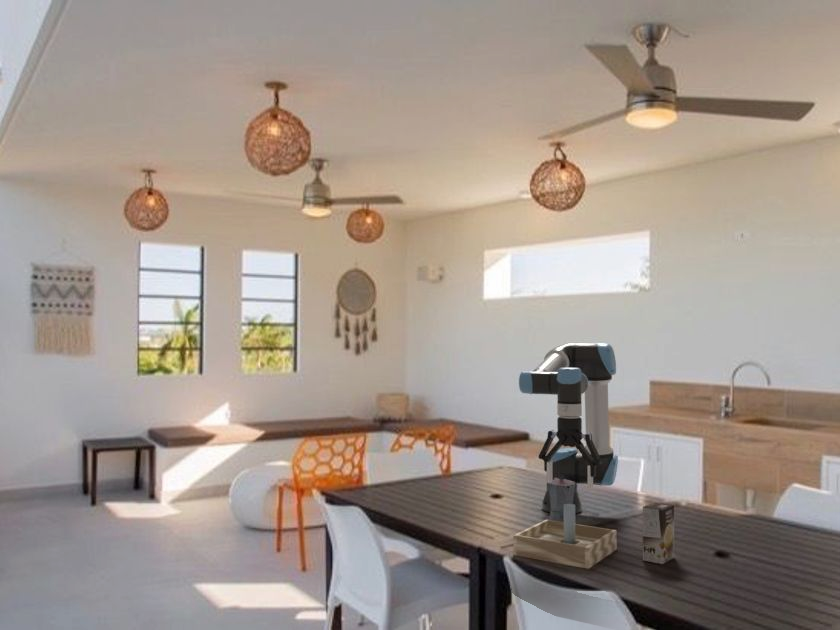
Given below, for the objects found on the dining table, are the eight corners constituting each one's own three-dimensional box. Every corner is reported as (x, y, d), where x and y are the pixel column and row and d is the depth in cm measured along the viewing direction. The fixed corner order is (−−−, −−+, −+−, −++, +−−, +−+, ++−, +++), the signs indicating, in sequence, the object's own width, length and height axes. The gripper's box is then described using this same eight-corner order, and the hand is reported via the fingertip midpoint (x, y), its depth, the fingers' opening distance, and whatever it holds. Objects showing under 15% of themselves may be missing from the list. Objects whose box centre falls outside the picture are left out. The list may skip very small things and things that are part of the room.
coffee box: (663, 564, 222) (662, 509, 223) (642, 560, 226) (642, 506, 227) (674, 557, 229) (674, 504, 230) (654, 554, 233) (654, 501, 234)
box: (546, 537, 251) (546, 519, 252) (616, 549, 238) (616, 530, 238) (513, 554, 232) (513, 535, 232) (588, 568, 218) (588, 547, 218)
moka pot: (557, 539, 250) (557, 478, 250) (537, 527, 265) (537, 470, 265) (583, 537, 252) (583, 477, 253) (562, 526, 267) (562, 469, 268)
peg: (566, 547, 240) (566, 503, 240) (577, 549, 238) (577, 504, 238) (561, 550, 237) (561, 505, 237) (572, 552, 235) (572, 506, 235)
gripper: (528, 415, 242) (528, 481, 242) (603, 420, 228) (603, 491, 228) (538, 413, 248) (538, 478, 248) (612, 418, 235) (612, 486, 234)
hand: (569, 484), depth 238 cm, fingers open, 13 cm apart
